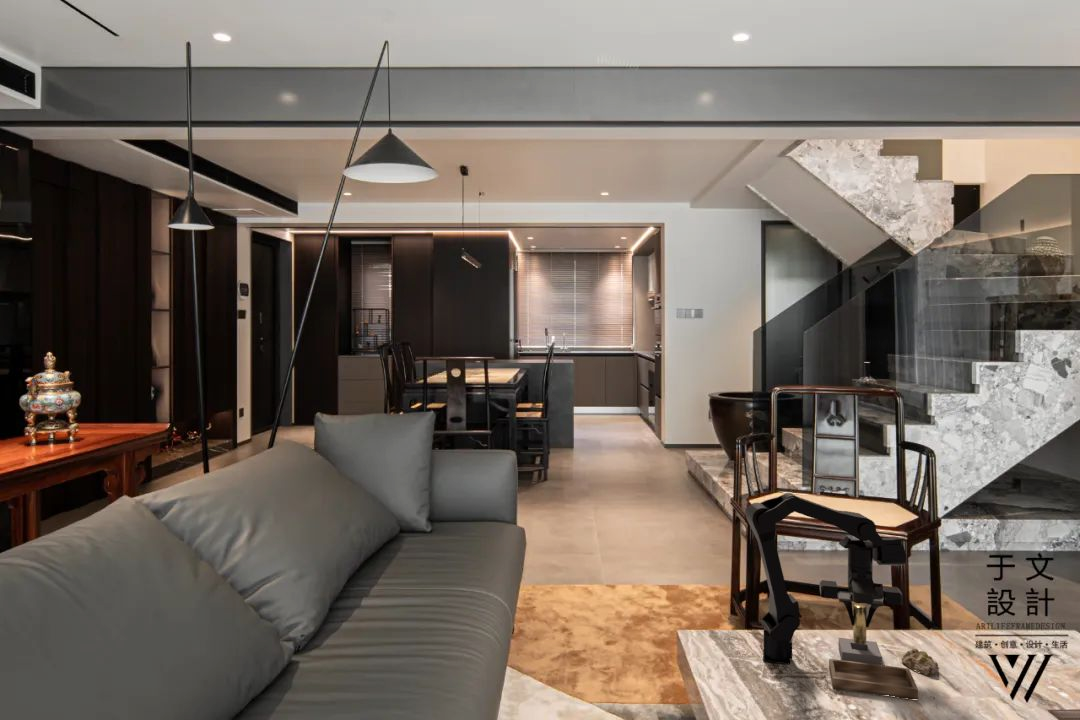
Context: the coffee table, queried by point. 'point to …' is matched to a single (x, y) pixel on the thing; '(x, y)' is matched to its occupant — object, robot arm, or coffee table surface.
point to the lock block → (859, 651)
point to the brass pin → (859, 623)
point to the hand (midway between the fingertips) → (859, 625)
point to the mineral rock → (920, 662)
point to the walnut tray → (872, 679)
